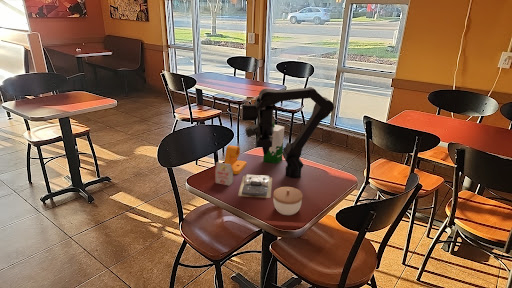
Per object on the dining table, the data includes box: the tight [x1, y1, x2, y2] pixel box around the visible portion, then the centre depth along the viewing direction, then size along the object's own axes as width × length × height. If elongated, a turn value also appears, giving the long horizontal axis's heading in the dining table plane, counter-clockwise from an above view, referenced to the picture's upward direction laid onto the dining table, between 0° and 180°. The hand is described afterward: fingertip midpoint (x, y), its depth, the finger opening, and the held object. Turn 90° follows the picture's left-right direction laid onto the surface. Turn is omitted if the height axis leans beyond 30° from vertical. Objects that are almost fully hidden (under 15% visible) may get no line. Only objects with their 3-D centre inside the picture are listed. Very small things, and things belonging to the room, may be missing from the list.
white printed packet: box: [214, 161, 234, 186], centre depth 139 cm, size 4×7×10 cm, turn 70°
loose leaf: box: [242, 181, 268, 195], centre depth 133 cm, size 10×10×2 cm
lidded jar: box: [272, 186, 303, 216], centre depth 120 cm, size 11×11×9 cm
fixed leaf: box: [244, 174, 270, 186], centre depth 140 cm, size 10×10×2 cm
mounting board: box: [237, 175, 273, 199], centre depth 138 cm, size 13×17×1 cm
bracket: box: [224, 144, 247, 175], centre depth 151 cm, size 11×7×12 cm, turn 160°
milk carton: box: [262, 121, 285, 164], centre depth 159 cm, size 9×9×20 cm
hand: (265, 154), depth 141 cm, fingers closed
